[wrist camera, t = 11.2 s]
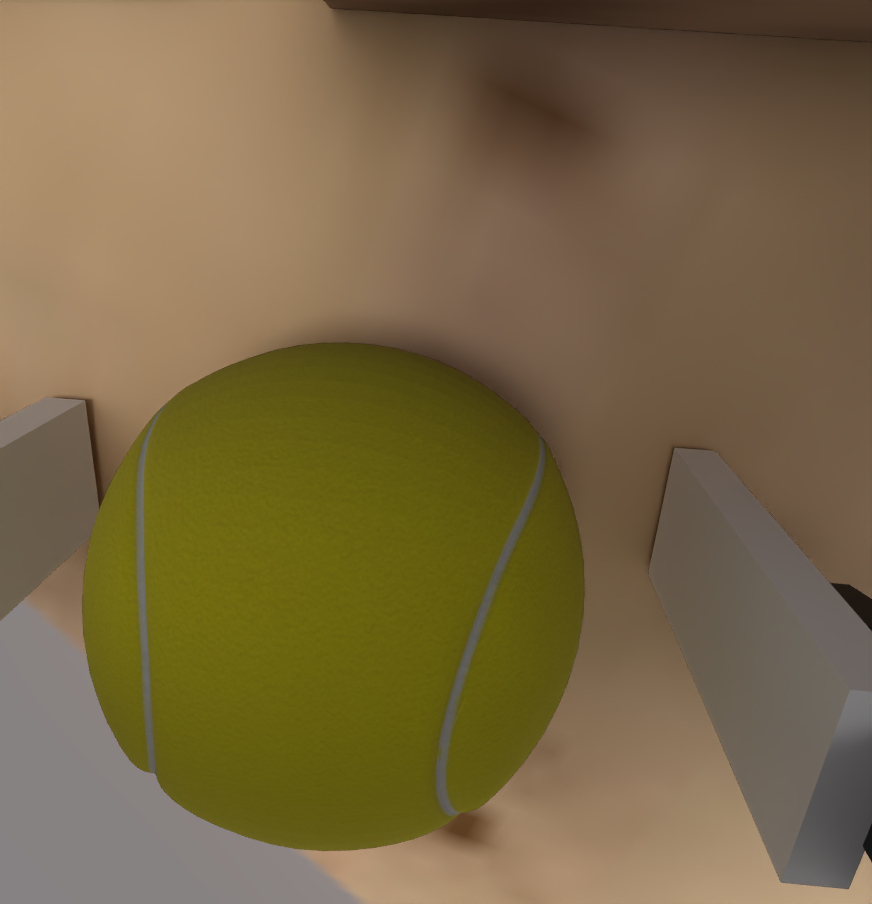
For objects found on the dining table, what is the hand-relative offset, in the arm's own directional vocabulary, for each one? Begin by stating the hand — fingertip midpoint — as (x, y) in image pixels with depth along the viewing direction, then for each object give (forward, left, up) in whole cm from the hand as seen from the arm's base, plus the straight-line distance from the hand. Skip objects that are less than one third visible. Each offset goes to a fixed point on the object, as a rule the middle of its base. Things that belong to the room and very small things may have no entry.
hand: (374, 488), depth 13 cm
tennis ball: (0, 0, 0) cm, 0 cm away
